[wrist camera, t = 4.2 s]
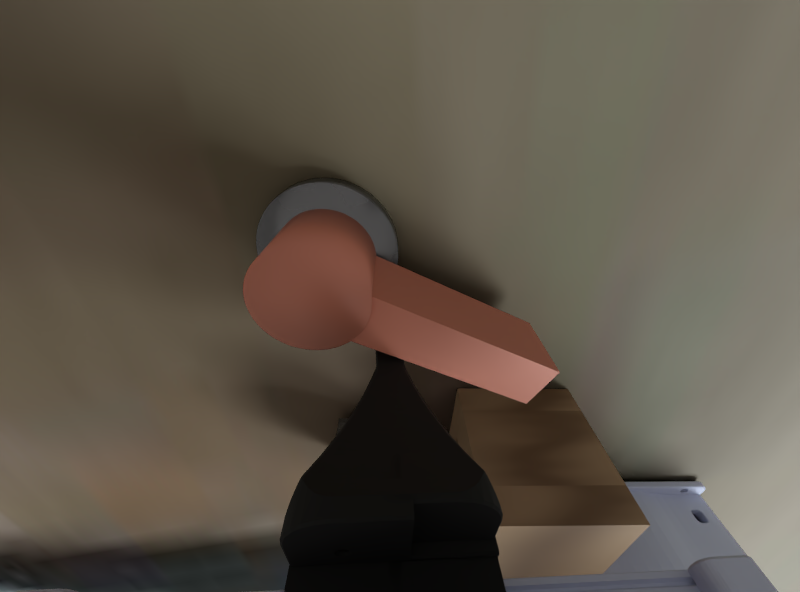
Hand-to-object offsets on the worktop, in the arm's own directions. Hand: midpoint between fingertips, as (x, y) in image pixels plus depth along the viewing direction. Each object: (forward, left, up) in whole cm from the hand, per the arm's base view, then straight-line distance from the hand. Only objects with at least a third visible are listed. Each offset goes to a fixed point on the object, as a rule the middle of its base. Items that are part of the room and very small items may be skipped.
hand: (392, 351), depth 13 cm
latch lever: (-1, -2, -1) cm, 3 cm away
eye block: (-7, +8, -2) cm, 11 cm away
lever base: (+2, -4, -2) cm, 5 cm away
